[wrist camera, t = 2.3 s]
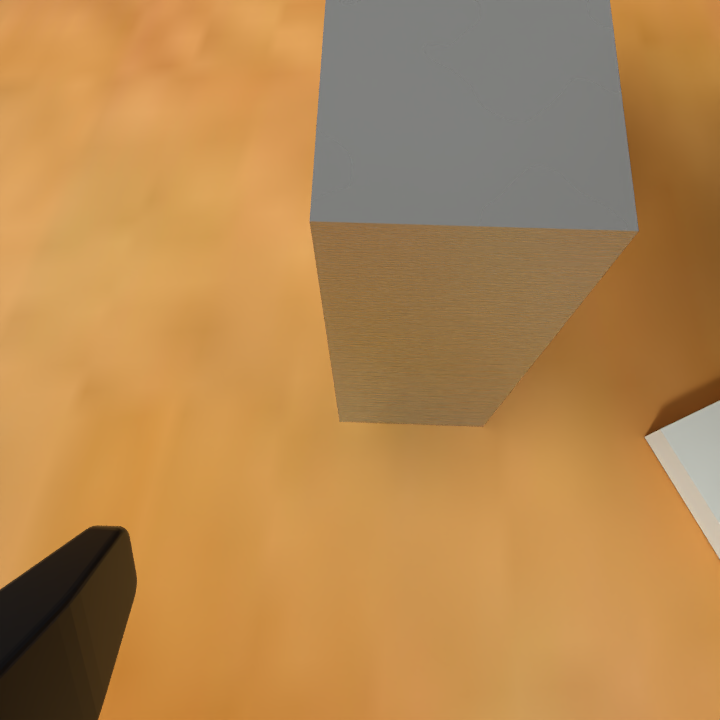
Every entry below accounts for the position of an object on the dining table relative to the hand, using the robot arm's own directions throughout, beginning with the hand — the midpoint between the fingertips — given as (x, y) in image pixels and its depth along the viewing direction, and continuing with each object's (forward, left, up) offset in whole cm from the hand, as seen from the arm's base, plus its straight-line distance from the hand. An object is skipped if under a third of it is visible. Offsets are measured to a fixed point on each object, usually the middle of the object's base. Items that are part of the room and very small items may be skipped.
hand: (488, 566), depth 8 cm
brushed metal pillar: (+3, +7, -13) cm, 15 cm away
